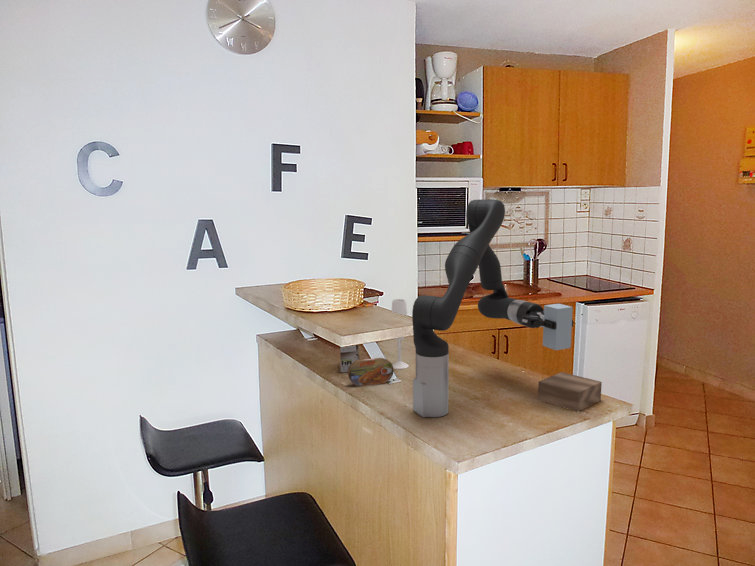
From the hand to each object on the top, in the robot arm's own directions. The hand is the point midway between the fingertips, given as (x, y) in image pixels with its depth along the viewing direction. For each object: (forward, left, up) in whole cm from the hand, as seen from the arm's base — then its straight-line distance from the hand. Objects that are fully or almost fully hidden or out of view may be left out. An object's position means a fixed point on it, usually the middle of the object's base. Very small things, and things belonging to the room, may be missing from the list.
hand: (563, 324), depth 162 cm
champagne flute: (-25, +55, -24) cm, 65 cm away
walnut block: (+5, +2, -24) cm, 25 cm away
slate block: (0, +3, -7) cm, 8 cm away
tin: (-42, +42, -24) cm, 64 cm away
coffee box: (-42, +60, -24) cm, 77 cm away
